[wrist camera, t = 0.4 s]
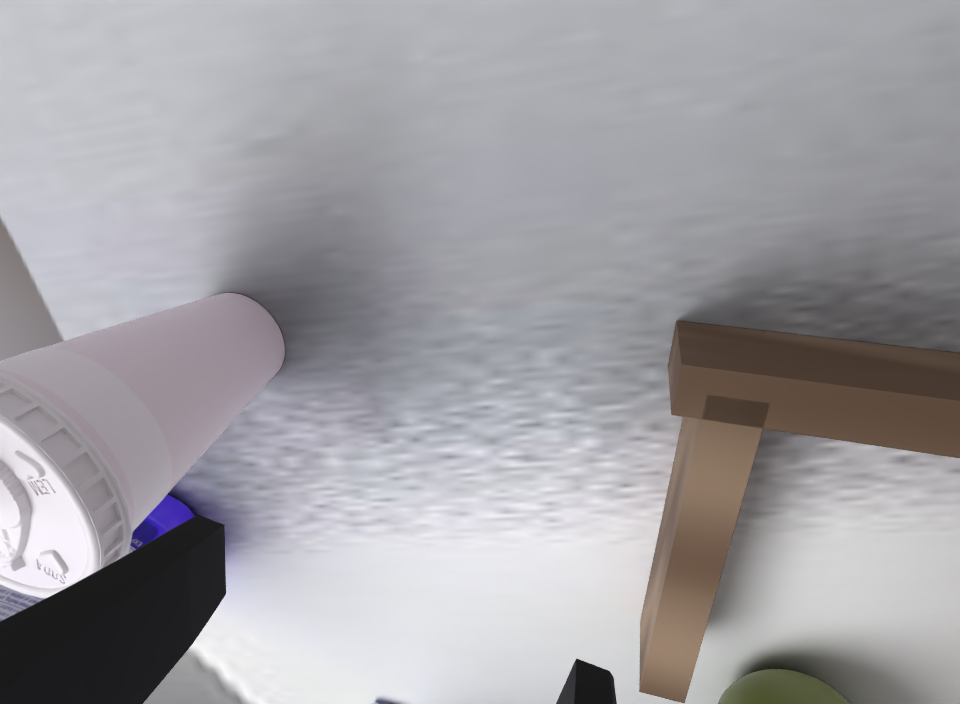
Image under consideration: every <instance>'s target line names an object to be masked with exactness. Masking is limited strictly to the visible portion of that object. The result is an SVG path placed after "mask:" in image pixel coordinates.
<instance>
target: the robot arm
mask: <svg viewBox="0 0 960 704" xmlns="http://www.w3.org/2000/svg"><path fill="white" fill-rule="evenodd" d="M225 594H226V577H225V533H224V525H223V524H220V523H217V522H215V521H212V520H210V519H207V518H204V517H202V516H199V515H197V516H194V517H192V518H191V519H189V520H187V521H185V522H184V523H182V524H180V525H178V526H176V527H175V528H173V529H171V530H169V531H168V532H166V533H164V534H162V535H161V536H159V537H157V538H155V539H154V540H152V541H150V542H148V543H147V544H145V545H143V546H141V547H140V548H138V549H136V550H134V551H133V552H131V553H129V554H127V555H125V556H124V557H122V558H120V559H118V560H117V561H115V562H113V563H111V564H109V565H108V566H106V567H104V568H102V569H100V570H98V571H97V572H95V573H93V574H91V575H89V576H87V577H86V578H84V579H82V580H80V581H78V582H76V583H75V584H73V585H71V586H69V587H67V588H65V589H63V590H61V591H59V592H58V593H56V594H54V595H52V596H50V597H48V598H46V599H44V600H42V601H40V602H38V603H36V604H34V605H32V606H30V607H28V608H26V609H24V610H22V611H20V612H18V613H16V614H14V615H12V616H10V617H8V618H6V619H4V620H2V621H0V704H143V703H144V701H145V700H146V699H147V698H148V697H149V695H150V694H151V693H152V692H153V691H154V690H155V688H156V687H157V686H158V685H159V684H160V682H161V681H162V680H163V679H164V678H165V676H166V675H167V674H168V673H169V672H170V670H171V669H172V668H173V667H174V666H175V664H176V663H177V662H178V661H179V660H180V658H181V657H182V656H183V655H184V653H185V652H186V651H187V650H188V649H189V647H190V646H191V645H192V644H193V642H194V641H195V639H196V638H197V636H198V635H199V634H200V632H201V631H202V629H203V628H204V626H205V625H206V623H207V622H208V621H209V619H210V617H211V616H212V614H213V613H214V611H215V610H216V608H217V607H218V605H219V604H220V602H221V601H222V599H223V598H224V596H225ZM373 704H378V703H373ZM556 704H617V703H616V696H615V687H614V678H613V676H612V674H611V673H610V671H608V670H605V669H602V668H600V667H597V666H595V665H592V664H589V663H587V662H584V661H581V660H579V659H576V661H575V663H574V665H573V667H572V670H571V672H570V674H569V676H568V678H567V681H566V683H565V685H564V687H563V690H562V692H561V694H560V696H559V699H558V701H557V703H556Z"/></svg>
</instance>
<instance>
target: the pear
mask: <svg viewBox="0 0 960 704" xmlns="http://www.w3.org/2000/svg"><path fill="white" fill-rule="evenodd" d="M718 704H850V703H849V702H848V701H847V700H846V699H845V698H844V697H843V696H842V695H841V694H840V693H838V692H837V691H836V690H835V689H833V688H832V687H830V686H829V685H827V684H826V683H824V682H822V681H820V680H819V679H817V678H814V677H812V676H810V675H807V674H804V673H801V672H797V671H792V670H786V669H765V670H759V671H755V672H752V673H750V674H747V675H745V676H743V677H741V678H739V679H738V680H736V681H735V682H734V683H733V684H731V685H730V686H729V687H728V688H727V690H726V691H725V692H724V694H723V695H722V697H721V698H720V700H719V703H718Z"/></svg>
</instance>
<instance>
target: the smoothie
mask: <svg viewBox="0 0 960 704" xmlns="http://www.w3.org/2000/svg"><path fill="white" fill-rule="evenodd" d="M284 357H285V345H284V340H283V336H282V333H281V331H280V329H279V327H278V325H277V323H276V322H275V320H274V319H273V317H272V316H271V315H270V314H269V313H268V311H267V310H266V309H265V308H263V307H262V306H261V305H260V304H258V303H257V302H256V301H254V300H252V299H250V298H248V297H246V296H244V295H241V294H236V293H222V294H218V295H215V296H211V297H208V298H205V299H201V300H198V301H195V302H192V303H188V304H185V305H182V306H178V307H175V308H172V309H169V310H165V311H162V312H159V313H155V314H152V315H149V316H146V317H142V318H139V319H136V320H132V321H129V322H126V323H123V324H119V325H116V326H113V327H109V328H106V329H103V330H100V331H96V332H93V333H90V334H86V335H83V336H80V337H77V338H73V339H70V340H67V341H63V342H60V343H57V344H54V345H51V346H47V347H44V348H40V349H36V350H32V351H29V352H26V353H23V354H20V355H17V356H14V357H10V358H8V359H4V360H1V361H0V584H1V585H3V586H5V587H7V588H10V589H12V590H15V591H18V592H20V593H23V594H27V595H31V596H35V597H39V598H48V597H50V596H52V595H54V594H56V593H58V592H59V591H61V590H63V589H65V588H67V587H69V586H71V585H73V584H75V583H76V582H78V581H80V580H82V579H84V578H86V577H87V576H89V575H91V574H93V573H95V572H97V571H98V570H100V569H102V568H104V567H106V566H108V565H109V564H111V563H113V562H115V561H117V560H118V559H120V558H122V557H124V556H125V555H127V554H128V553H129V549H130V544H131V538H132V533H133V531H134V530H135V529H136V528H137V527H138V526H139V525H140V524H141V522H142V521H143V520H144V519H145V518H146V517H147V516H148V515H149V514H150V513H151V512H152V511H153V510H154V509H155V508H156V506H157V505H158V504H159V503H160V502H161V501H162V500H163V499H164V498H165V496H166V495H167V494H168V493H169V492H170V490H171V489H172V488H173V487H174V486H175V485H176V484H177V483H178V482H179V481H180V479H181V478H182V477H183V476H184V475H185V474H186V473H187V472H188V471H189V469H190V468H191V467H192V466H193V465H194V464H195V463H196V462H197V461H198V460H199V458H200V457H201V456H202V455H203V454H204V453H205V452H206V451H207V450H208V448H209V447H210V446H211V445H212V444H213V443H214V442H215V441H216V440H217V439H218V437H219V436H220V435H221V434H222V433H223V432H224V431H225V430H226V429H227V427H228V426H229V425H230V424H231V423H232V422H233V421H234V420H235V419H236V418H237V416H238V415H239V414H240V413H241V412H242V411H243V410H244V409H245V408H246V406H247V405H248V404H249V403H250V402H251V401H252V400H253V399H254V398H255V397H256V395H257V394H258V393H259V392H260V391H261V390H262V389H263V388H264V387H265V385H266V384H267V383H268V382H269V381H270V380H271V379H272V378H273V377H274V375H275V374H276V373H277V372H278V371H279V370H280V368H281V366H282V364H283V361H284Z"/></svg>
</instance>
